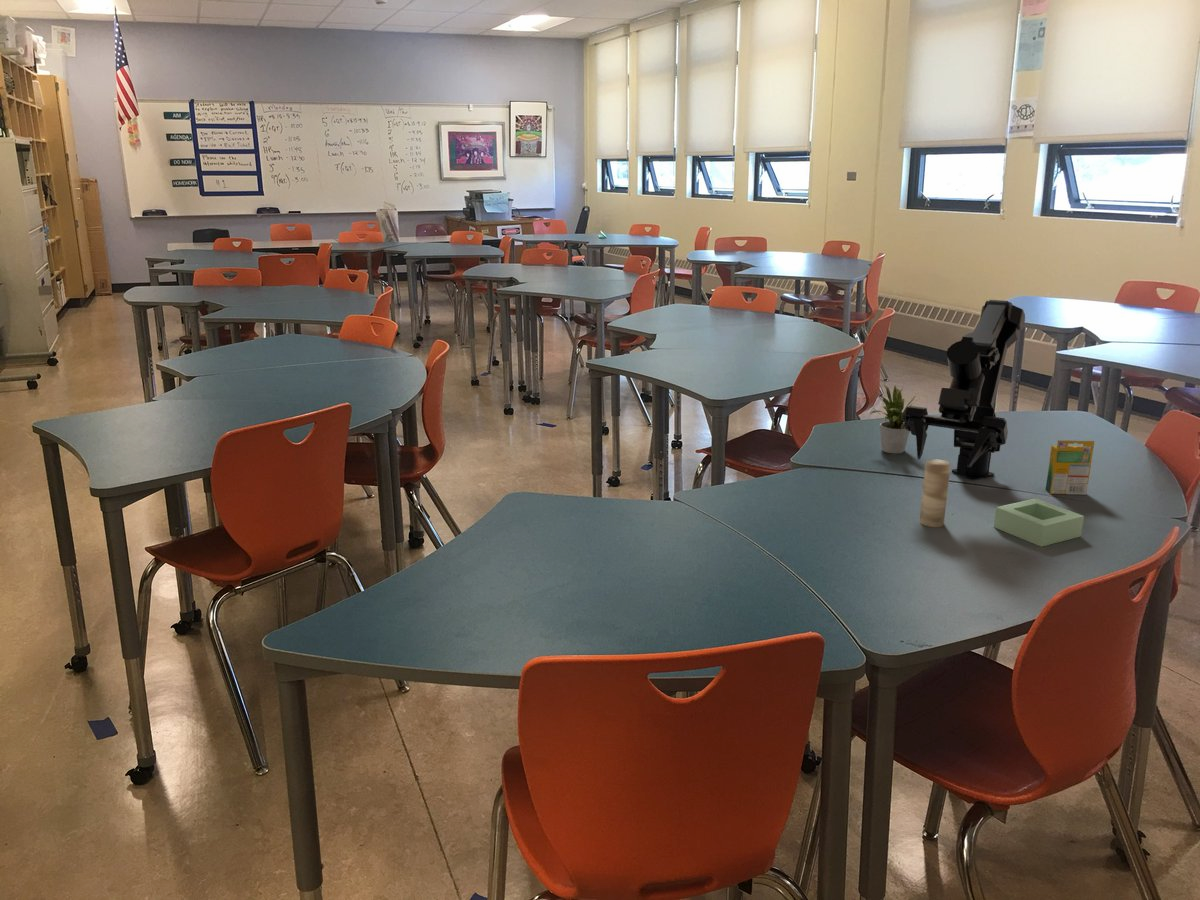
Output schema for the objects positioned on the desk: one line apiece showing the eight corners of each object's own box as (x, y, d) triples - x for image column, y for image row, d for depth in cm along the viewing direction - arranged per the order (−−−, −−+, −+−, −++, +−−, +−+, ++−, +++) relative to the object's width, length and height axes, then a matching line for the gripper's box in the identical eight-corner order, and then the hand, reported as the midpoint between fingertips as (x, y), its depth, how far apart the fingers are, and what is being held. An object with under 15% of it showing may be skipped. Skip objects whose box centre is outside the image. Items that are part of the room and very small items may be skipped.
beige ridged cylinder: (931, 517, 175) (937, 458, 171) (948, 524, 171) (955, 464, 167) (914, 520, 173) (920, 461, 169) (931, 528, 169) (938, 467, 166)
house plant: (846, 443, 222) (851, 378, 217) (894, 438, 226) (900, 374, 221) (880, 460, 209) (886, 391, 204) (931, 454, 213) (938, 387, 208)
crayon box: (1081, 490, 189) (1089, 437, 185) (1086, 495, 186) (1095, 441, 182) (1044, 489, 189) (1052, 436, 186) (1049, 494, 187) (1058, 440, 183)
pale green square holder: (1032, 517, 174) (1035, 498, 173) (1080, 536, 165) (1084, 516, 164) (993, 527, 170) (996, 507, 168) (1041, 546, 161) (1044, 525, 160)
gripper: (910, 365, 176) (887, 432, 171) (1012, 376, 166) (992, 448, 161) (917, 396, 185) (896, 461, 179) (1015, 409, 175) (996, 478, 169)
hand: (943, 462), depth 172 cm, fingers open, 9 cm apart
